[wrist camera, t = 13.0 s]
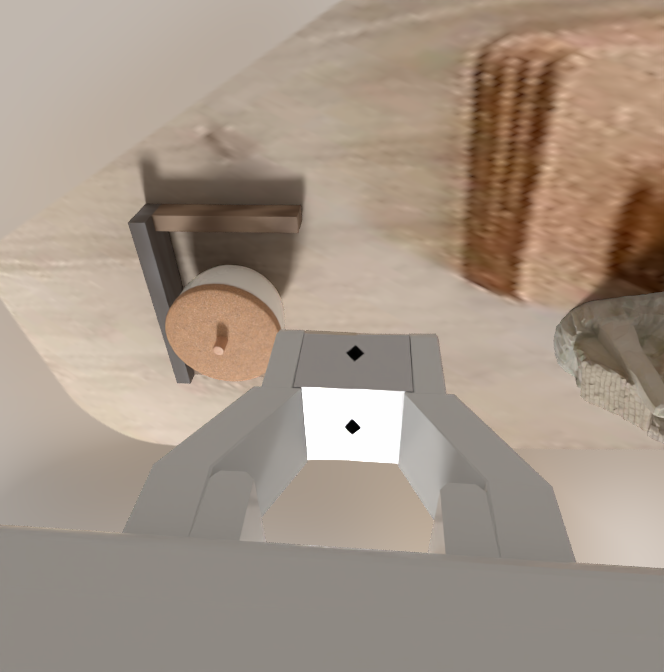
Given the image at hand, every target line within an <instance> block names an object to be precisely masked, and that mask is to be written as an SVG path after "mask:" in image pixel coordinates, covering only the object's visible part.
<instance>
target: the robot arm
mask: <svg viewBox="0 0 664 672" xmlns="http://www.w3.org/2000/svg"><path fill="white" fill-rule="evenodd" d="M307 459H336V460H359V461H372V462H385V463H398V466H399V468H400V469H401V471H402V472H403V474H404V475H405V477H406V479H407V480H408V482H409V483H410V485H411V486H412V488H413V489H414V491H415V492H416V494H417V495H418V496H419V498H420V500H421V501H422V503H423V504H424V506H425V507H426V509H427V510H428V512H429V513H430V515H431V517H432V518H433V520H434V524H433V529H432V534H431V540H430V545H429V550H428V553H419V552H404V551H388V550H373V549H359V548H343V547H329V546H313V545H300V544H285V543H270V542H269V543H268V542H266V537H265V533H264V528H263V522H262V516H263V515H264V514H265V512H266V511H267V510H268V509H269V508H270V506H271V505H272V504H273V503H274V502H275V500H276V499H277V498H278V497H279V496H280V494H281V493H282V492H283V491H284V490H285V488H286V487H287V486H288V484H289V483H290V482H291V481H292V480H293V479H294V477H295V476H296V475H297V474H298V473H299V471H300V470H301V469H302V468H303V466H304V465H305V464H306V463H307ZM0 672H664V568H649V567H634V566H633V567H632V566H618V565H604V564H589V563H576V560H575V557H574V554H573V551H572V548H571V544H570V541H569V538H568V535H567V532H566V529H565V526H564V523H563V519H562V516H561V513H560V510H559V506H558V503H557V500H556V497H555V494H554V491H553V488H552V486H551V485H550V484H549V483H548V482H547V481H546V480H544V479H543V478H542V477H541V476H540V475H539V474H538V473H537V472H536V471H535V470H534V469H533V468H532V467H531V466H530V465H529V464H528V463H527V462H525V461H524V460H523V459H522V458H521V457H520V456H519V455H518V454H517V453H516V452H515V451H514V450H513V449H512V448H511V447H510V446H509V445H508V444H506V443H505V442H504V441H503V440H502V439H501V438H500V437H499V436H498V435H497V434H496V433H495V432H494V431H493V430H492V429H491V428H490V427H488V426H487V425H486V424H485V423H484V422H483V421H482V420H481V419H480V418H479V417H478V416H477V415H476V414H475V413H474V412H473V411H472V410H471V409H469V408H468V407H467V406H466V405H465V404H464V403H463V402H462V401H461V400H460V399H459V398H458V397H457V396H456V395H454V394H446V388H445V381H444V374H443V367H442V361H441V354H440V347H439V340H438V336H437V335H436V334H409V335H407V334H368V333H350V332H331V331H312V330H306V331H304V330H284V329H280V330H279V332H278V333H277V334H276V338H275V341H274V345H273V348H272V352H271V355H270V359H269V362H268V366H267V369H266V373H265V376H264V380H263V383H262V387H255V386H254V387H253V388H251V389H250V390H249V391H247V392H246V393H245V394H244V395H242V396H241V397H240V398H238V399H237V400H236V401H234V402H233V403H232V404H231V405H229V406H228V407H227V408H225V409H224V410H223V411H222V412H220V413H219V414H218V415H216V416H215V417H214V418H213V419H211V420H210V421H209V422H207V423H206V424H205V425H203V426H202V427H201V428H200V429H198V430H197V431H196V432H194V433H193V434H192V435H191V436H189V437H188V438H187V439H185V440H184V441H183V442H182V443H180V444H179V445H178V446H176V447H175V448H174V449H173V450H171V451H170V452H169V453H167V454H166V455H165V456H164V457H162V458H161V459H160V460H158V461H157V462H156V463H154V464H153V466H152V469H151V471H150V473H149V475H148V477H147V480H146V482H145V484H144V486H143V489H142V491H141V493H140V495H139V497H138V499H137V501H136V504H135V506H134V508H133V510H132V512H131V515H130V517H129V519H128V521H127V523H126V526H125V528H124V530H123V532H122V533H120V532H105V531H90V530H74V529H60V528H45V527H28V526H15V525H0Z"/></svg>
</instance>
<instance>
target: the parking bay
mask: <svg viewBox="0 0 664 672" xmlns="http://www.w3.org/2000/svg"><path fill="white" fill-rule="evenodd" d="M301 222H302V214H301V205H211V204H145V205H144V206H143V207H142V208H141V209H140V211H139V212H138V213H137V214H136V215H135V216H134V217H133V218H132V219H131V220H130V221H129V222H128V225H129V228H130V231H131V234H132V238H133V241H134V244H135V247H136V251H137V254H138V257H139V260H140V264H141V267H142V270H143V273H144V277H145V280H146V283H147V286H148V290H149V293H150V296H151V299H152V303H153V306H154V309H155V312H156V316H157V319H158V322H159V325H160V329H161V332H162V335H163V338H164V342H165V345H166V348H167V351H168V355H169V358H170V361H171V364H172V368H173V371H174V374H175V377H176V381H177V383H189V384H190V383H191V381H192V379H193V377H194V375H195V374H200V375H204V374H201V373H199V372H198V371H196V370H194V369H193V368H191V367H190V366H188V365H187V364H186V363H184V362H183V361H182V360H181V359H180V358H179V357H178V355H177V354H176V353H175V352H174V350H173V349H172V347H171V345H170V343H169V341H168V339H167V335H166V331H165V321H166V316H167V313H168V311H169V309H170V307H171V305H172V304H173V302H174V301H175V300H176V299H177V298H178V297H179V295H180V294H181V292H182V291H183V287H182V283H181V279H180V275H179V271H178V267H177V263H176V259H175V255H174V251H173V248H172V244H171V240H170V236H169V232H168V231H181V232H259V233H298V232H299V229H300V226H301ZM264 376H265V373H264V374H262V375H260V376H258V377H264Z"/></svg>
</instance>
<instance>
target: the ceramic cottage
mask: <svg viewBox="0 0 664 672" xmlns="http://www.w3.org/2000/svg"><path fill="white" fill-rule="evenodd" d="M554 350H555V355H556V358H557V361H558V364H559V365H560V366H561V368H562V369H563V370H564V371H565V372H567V373H569V374H571V375H572V376H574V377H575V378H576V384H577V387H579V388H581V397H582V398H583V399H584V400H585V401H586V402H588V403H590V404H593V405H596V406H598V407H601V408H603V409H606V410H607V411H609V412H611V413H613V414H616V415H619V416H621V417H622V418H623V419H624V420H627V421H629V422H630V423H632V424H633V425H634V426H637V427H640V428H641V429H642V430H643V431H647V436H649V437H650V438H652V439H654V440H656V441H658V442H661V443H663V444H664V292H660V293H659V292H658V293H651V294H647V295H644V294H642V295H637V296H623V297H619V298H610V299H603V300H595V301H590V302H587V303H584V304H582V305H581V306H579V307H577V308H575V309H573V310H571V311H570V312H569V313H568V314H567V315H566V316H565V317H564V318H563V319H562V320H561V322H560V324H559V325H558V326H557V327H556V332H555V336H554Z"/></svg>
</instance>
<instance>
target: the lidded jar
mask: <svg viewBox="0 0 664 672" xmlns="http://www.w3.org/2000/svg"><path fill="white" fill-rule="evenodd" d="M284 328H285V314H284V307H283V303H282V300H281V298H280V296H279V293H278V292H277V290H276V289H275V287H274V286H273V285H272V284H271V282H270V281H269V280H268V279H266V278H265V277H264V276H263V275H261V274H260V273H258V272H257V271H254V270H252V269H250V268H247V267H244V266H239V265H221V266H217V267H213V268H211V269H208V270H206V271H204V272H202V273H201V274H199V275H198V276H196V277H195V278H194V279H193V280H192V281H191V282H190V283H189V284H188V285H187V286H186V287H185V288H184V289H183V291H182V292H181V294H180V295H179V297H178V298H177V299H176V300H175V301H174V302H173V304H172V305H171V307H170V309H169V311H168V313H167V316H166V321H165V331H166V335H167V339H168V341H169V343H170V345H171V347H172V349H173V350H174V352H175V353H176V354H177V355H178V357H179V358H180V359H181V360H182V361H183V362H184V363H186V364H187V365H188V366H190V367H191V368H193V369H194V370H196V371H198V372H199V373H201V374H204V375H206V376H209V377H212V378H215V379H219V380H225V381H244V380H250V379H253V378H256V377H258V376H260V375H262V374H264V373H266V369H267V366H268V362H269V359H270V355H271V352H272V348H273V345H274V341H275V338H276V334H277V333H278V332H279V330H280V329H284Z"/></svg>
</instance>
